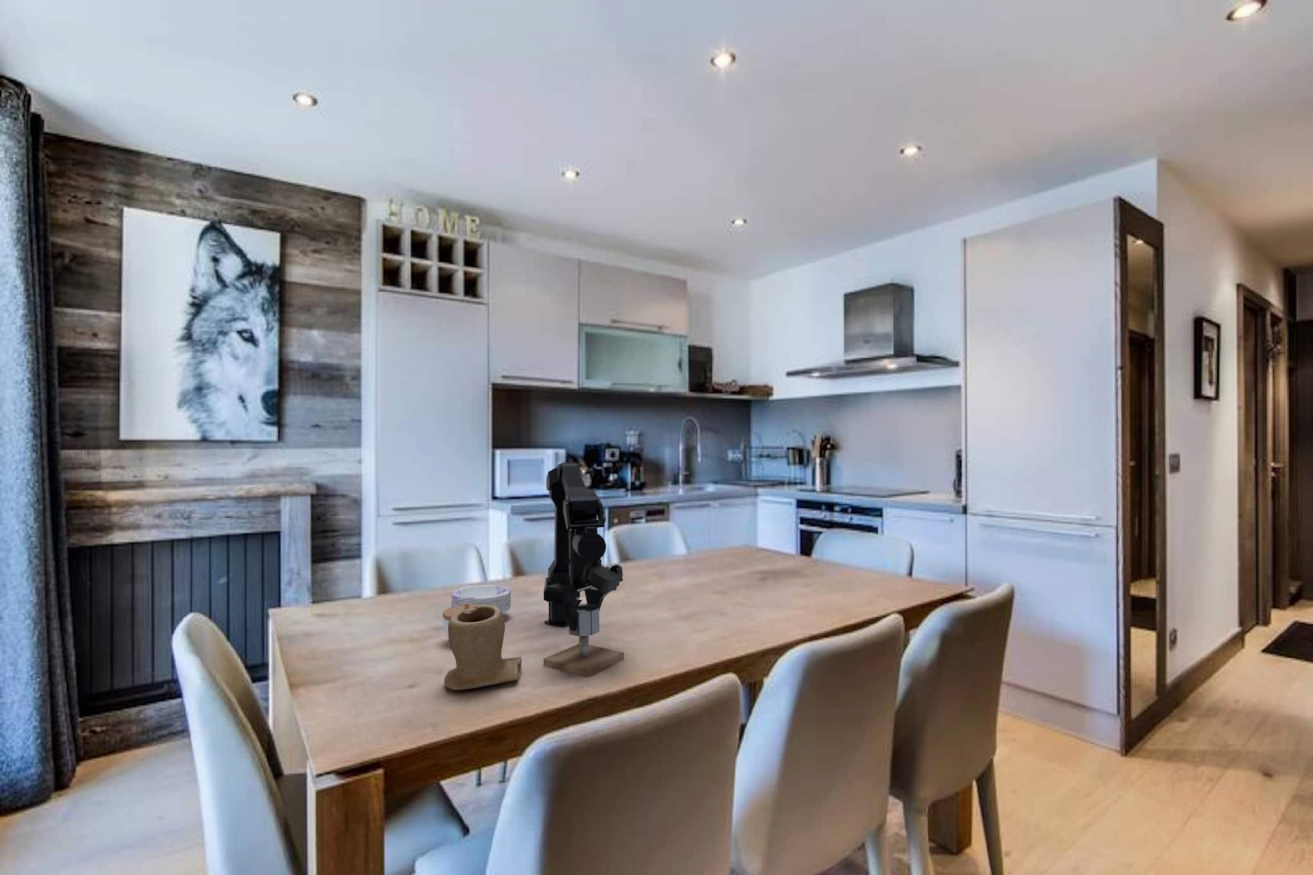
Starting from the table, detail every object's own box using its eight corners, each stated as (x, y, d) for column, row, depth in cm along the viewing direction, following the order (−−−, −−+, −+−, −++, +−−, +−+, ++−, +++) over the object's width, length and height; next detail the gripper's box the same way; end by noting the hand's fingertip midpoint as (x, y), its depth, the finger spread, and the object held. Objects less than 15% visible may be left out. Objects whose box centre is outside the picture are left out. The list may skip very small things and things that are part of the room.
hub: (562, 632, 132) (561, 609, 132) (581, 625, 137) (581, 602, 137) (585, 637, 128) (585, 613, 128) (604, 629, 134) (604, 606, 134)
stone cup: (445, 701, 114) (444, 619, 114) (443, 678, 125) (443, 603, 125) (529, 689, 119) (528, 610, 119) (521, 668, 130) (520, 596, 130)
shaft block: (543, 665, 131) (543, 639, 131) (580, 649, 141) (580, 625, 141) (588, 677, 124) (587, 649, 124) (623, 658, 135) (623, 633, 135)
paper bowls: (523, 617, 168) (523, 587, 168) (479, 632, 155) (479, 600, 155) (483, 609, 176) (483, 581, 176) (439, 623, 164) (438, 592, 164)
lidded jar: (499, 638, 150) (499, 599, 150) (472, 652, 140) (472, 610, 140) (462, 634, 154) (461, 596, 154) (433, 648, 143) (432, 607, 144)
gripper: (584, 564, 121) (584, 645, 121) (638, 549, 136) (639, 621, 136) (541, 559, 127) (542, 636, 127) (598, 545, 142) (599, 614, 142)
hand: (583, 626), depth 133 cm, fingers closed on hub, 6 cm apart
